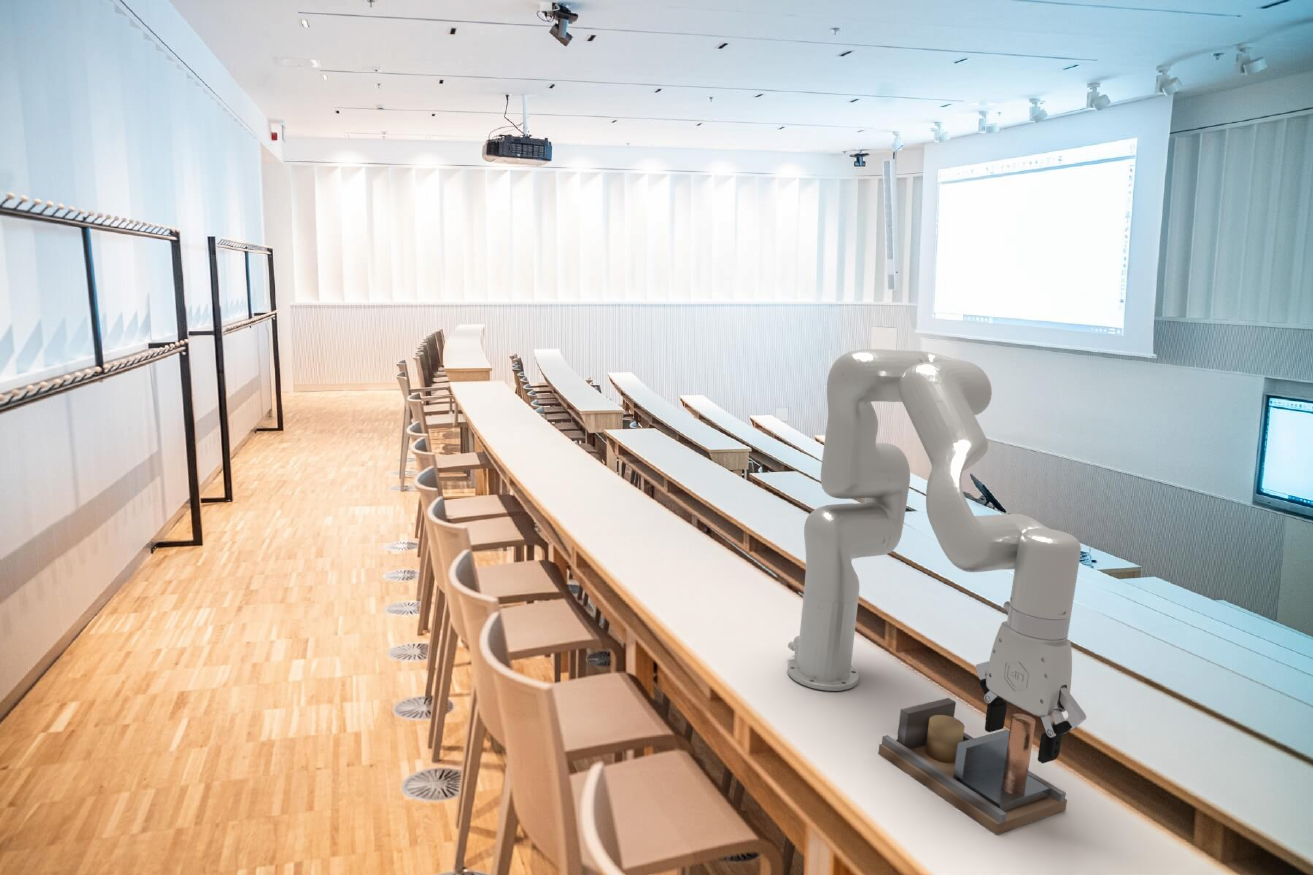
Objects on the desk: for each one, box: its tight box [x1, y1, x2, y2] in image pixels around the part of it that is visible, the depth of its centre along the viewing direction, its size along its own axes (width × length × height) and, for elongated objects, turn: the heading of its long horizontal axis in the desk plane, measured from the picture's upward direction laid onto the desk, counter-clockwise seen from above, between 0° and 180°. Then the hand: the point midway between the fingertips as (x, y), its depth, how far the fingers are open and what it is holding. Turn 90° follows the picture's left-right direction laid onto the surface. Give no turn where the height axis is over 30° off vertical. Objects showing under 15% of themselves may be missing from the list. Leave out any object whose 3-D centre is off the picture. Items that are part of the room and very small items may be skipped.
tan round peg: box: [925, 715, 965, 763], centre depth 135 cm, size 5×5×5 cm
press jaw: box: [953, 713, 1050, 811], centre depth 126 cm, size 8×10×12 cm
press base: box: [877, 697, 1068, 836], centre depth 131 cm, size 22×14×8 cm, turn 30°
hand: (1019, 744), depth 124 cm, fingers open, 8 cm apart
